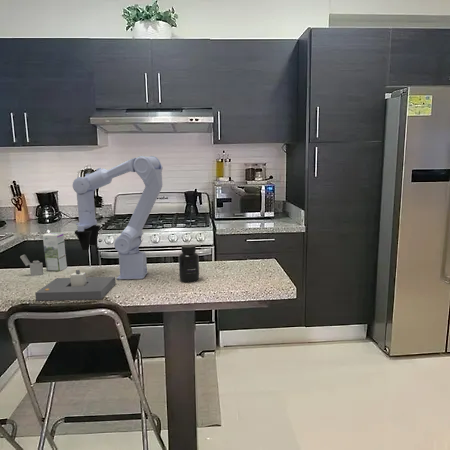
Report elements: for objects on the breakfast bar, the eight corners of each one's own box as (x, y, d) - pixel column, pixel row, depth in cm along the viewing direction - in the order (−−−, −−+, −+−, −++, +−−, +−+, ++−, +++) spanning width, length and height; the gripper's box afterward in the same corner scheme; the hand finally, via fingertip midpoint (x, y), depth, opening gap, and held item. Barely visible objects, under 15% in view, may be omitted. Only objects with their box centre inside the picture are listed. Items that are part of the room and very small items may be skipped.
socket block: (115, 283, 134) (115, 276, 134) (101, 299, 119) (100, 290, 119) (57, 285, 134) (56, 277, 134) (36, 300, 119) (35, 292, 119)
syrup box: (67, 267, 157) (64, 231, 155) (59, 271, 151) (56, 234, 149) (53, 267, 158) (50, 231, 155) (45, 271, 152) (42, 234, 150)
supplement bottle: (191, 284, 132) (190, 249, 130) (175, 281, 135) (173, 247, 133) (203, 278, 137) (202, 245, 135) (187, 276, 141) (186, 243, 139)
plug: (87, 290, 128) (85, 268, 127) (84, 293, 125) (82, 271, 124) (75, 290, 128) (73, 269, 127) (71, 293, 125) (69, 271, 124)
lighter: (43, 273, 149) (41, 253, 148) (42, 274, 148) (40, 254, 146) (23, 275, 148) (21, 254, 147) (22, 276, 146) (19, 255, 145)
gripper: (82, 208, 149) (85, 243, 151) (67, 213, 134) (70, 252, 137) (101, 207, 149) (103, 243, 151) (87, 213, 134) (90, 251, 137)
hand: (89, 247), depth 144 cm, fingers open, 7 cm apart
